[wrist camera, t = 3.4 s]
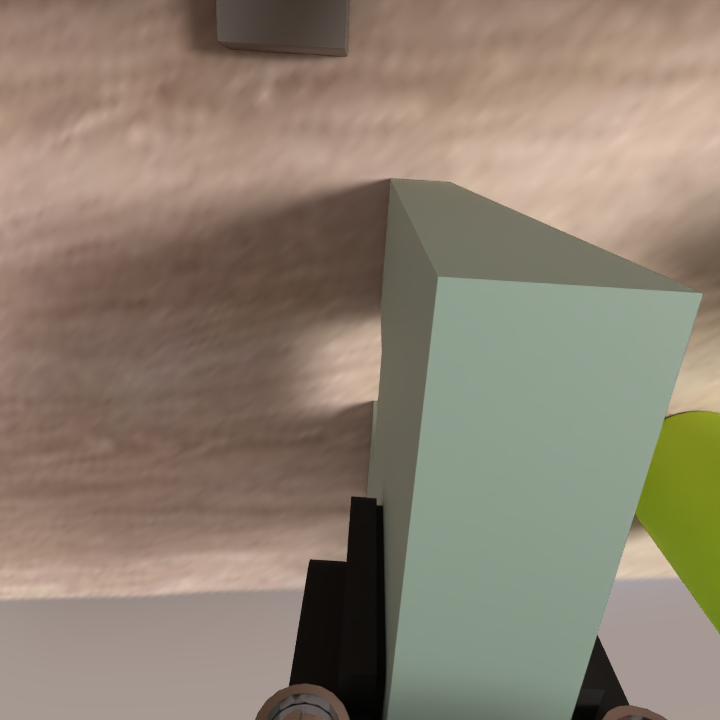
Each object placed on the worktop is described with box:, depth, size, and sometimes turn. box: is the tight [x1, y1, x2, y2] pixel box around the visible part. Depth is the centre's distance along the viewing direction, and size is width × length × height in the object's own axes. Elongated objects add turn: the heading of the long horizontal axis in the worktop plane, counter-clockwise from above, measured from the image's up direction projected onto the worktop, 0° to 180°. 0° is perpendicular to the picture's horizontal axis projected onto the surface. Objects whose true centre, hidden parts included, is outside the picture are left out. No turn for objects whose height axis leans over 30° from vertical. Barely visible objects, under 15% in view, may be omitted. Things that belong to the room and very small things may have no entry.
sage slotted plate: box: [367, 178, 703, 720], centre depth 14 cm, size 2×14×16 cm, turn 177°
